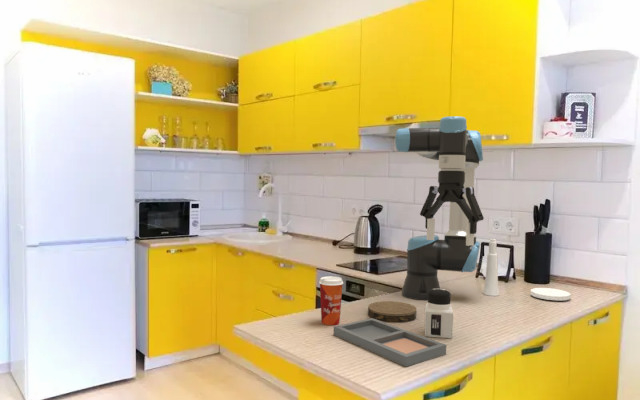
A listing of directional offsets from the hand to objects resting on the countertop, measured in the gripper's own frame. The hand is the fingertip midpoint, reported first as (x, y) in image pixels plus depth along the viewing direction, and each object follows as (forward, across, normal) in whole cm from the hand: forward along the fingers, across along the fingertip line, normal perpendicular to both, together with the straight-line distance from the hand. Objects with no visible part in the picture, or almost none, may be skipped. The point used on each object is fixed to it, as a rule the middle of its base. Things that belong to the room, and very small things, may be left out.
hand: (449, 242), depth 143 cm
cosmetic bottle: (+27, -18, +55) cm, 64 cm away
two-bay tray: (+27, -4, -21) cm, 35 cm away
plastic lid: (+27, -1, +69) cm, 74 cm away
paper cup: (+27, -28, -21) cm, 45 cm away
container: (+27, -1, -2) cm, 27 cm away
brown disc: (+28, -22, +1) cm, 35 cm away
